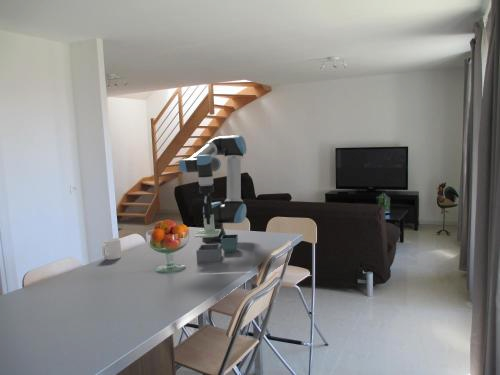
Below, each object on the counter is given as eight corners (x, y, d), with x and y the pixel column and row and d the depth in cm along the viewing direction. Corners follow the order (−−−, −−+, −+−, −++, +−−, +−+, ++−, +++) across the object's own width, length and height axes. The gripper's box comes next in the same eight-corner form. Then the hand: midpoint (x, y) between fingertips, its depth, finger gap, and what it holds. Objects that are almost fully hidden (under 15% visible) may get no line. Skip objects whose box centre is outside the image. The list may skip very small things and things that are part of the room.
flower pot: (238, 254, 219) (237, 237, 218) (221, 255, 219) (220, 238, 218) (238, 250, 227) (237, 234, 226) (223, 250, 228) (222, 235, 227)
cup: (124, 256, 228) (123, 238, 227) (109, 262, 218) (107, 243, 217) (113, 255, 232) (111, 237, 231) (97, 261, 221) (95, 242, 220)
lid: (199, 233, 215) (197, 215, 214) (221, 232, 215) (219, 214, 214) (195, 239, 203) (193, 220, 202) (218, 237, 202) (216, 218, 201)
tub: (201, 257, 216) (200, 244, 215) (222, 256, 215) (221, 243, 215) (197, 264, 204) (196, 250, 203) (219, 263, 204) (218, 249, 203)
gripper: (201, 183, 218) (204, 226, 221) (196, 187, 203) (199, 233, 206) (215, 182, 218) (218, 226, 221) (211, 186, 203) (214, 232, 206)
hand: (209, 229), depth 213 cm, fingers closed on lid, 2 cm apart
